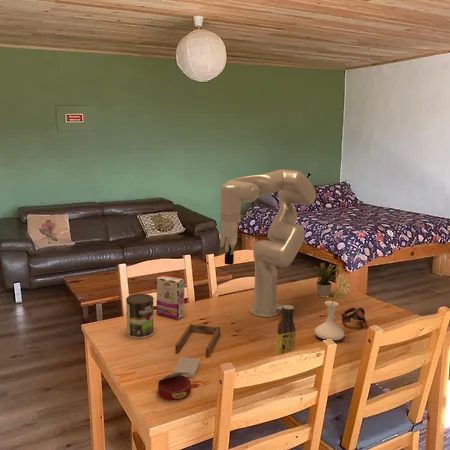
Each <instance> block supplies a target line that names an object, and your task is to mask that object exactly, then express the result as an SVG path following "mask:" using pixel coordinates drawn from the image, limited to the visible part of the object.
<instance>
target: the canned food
mask: <svg viewBox="0 0 450 450" xmlns="http://www.w3.org/2000/svg"><path fill="white" fill-rule="evenodd" d="M186 373H187V372H186ZM186 373H182V372H181V373H175V374H173V373H172V374H168V375H166V376H163V377H161V378H159V379H158V380H157V382H158V383H157V388H158V390H157V392H158V396H159V397H160V398H161V399H162V400H165V399H166V401H170V400H178V401H181V399H182V400H184V399H186V398H188V397H189V396H190V395H191V393H190V392H191V391H192V390H191V389H192V388H191V386H192V382H191V380H190V379H191V378H187V377H185V376H182V374H186ZM189 394H190V395H189ZM188 395H189V396H188ZM187 396H188V397H187Z"/></svg>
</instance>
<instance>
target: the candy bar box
mask: <svg viewBox="0 0 450 450" xmlns="http://www.w3.org/2000/svg"><path fill="white" fill-rule="evenodd" d="M155 280H156V315H157V316H161V317H165V318H168V319H169V318H170V319H174V320H176V321H177V320H181V319H182V318H184V317H185V279H184V278H179V277H175V276H169V275H163V274H162V275H160V276H159V277H158V276H157V277H156V279H155Z"/></svg>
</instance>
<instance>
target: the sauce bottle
mask: <svg viewBox="0 0 450 450" xmlns="http://www.w3.org/2000/svg"><path fill="white" fill-rule="evenodd" d="M282 305H283V306H282V310H281V311H282V313H281V314H282V315H281V319H280V320H279V321H278V324H277V331H276V340H275V342H276V343H275V349H274V350H275V352H274V355H275V356H276V355H281V354H284V353H288V352H292V351H294V352H295V342H296V341H295V340H296V326H295V323H294V313H295V307H294V306H293V305H290V304H282Z"/></svg>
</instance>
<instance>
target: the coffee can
mask: <svg viewBox="0 0 450 450" xmlns="http://www.w3.org/2000/svg"><path fill="white" fill-rule="evenodd" d="M154 300H155V299H154V297H153V295H150V294H147V293H136V294H131V295H129V296H127V297H126V298H125V302H126V335H127V336H128V337H129V338H131V339H137V340H138V339H141V340H142V339H146V338H149V337H151V336H153V335H154Z"/></svg>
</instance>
